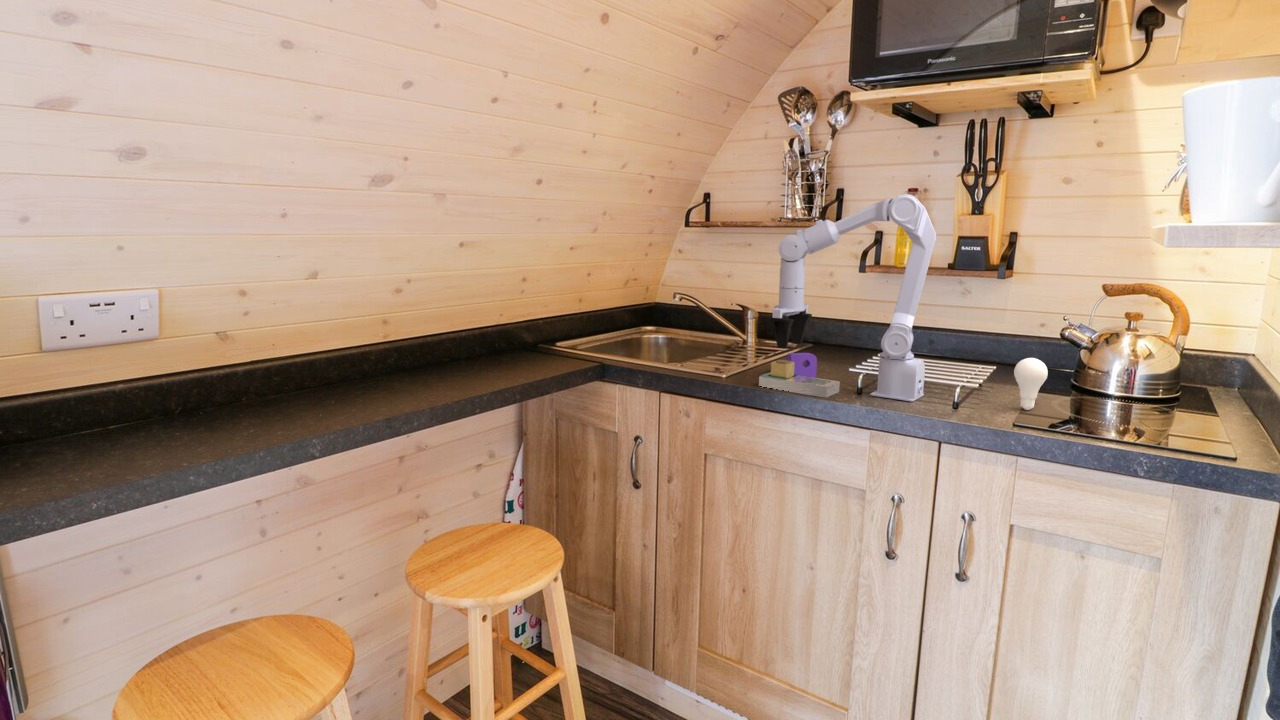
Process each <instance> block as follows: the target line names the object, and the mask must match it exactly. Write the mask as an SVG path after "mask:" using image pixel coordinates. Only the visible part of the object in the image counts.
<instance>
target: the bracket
mask: <svg viewBox="0 0 1280 720" xmlns="http://www.w3.org/2000/svg"><path fill="white" fill-rule="evenodd" d="M784 360H787V361H790V362H795V363H794V374H798V375H799V376H806V377H813V378H817V370H818V369H817V368H818V358H817V356H816V355H815V354H813V353H810V352H788V353H787V358H786V359H784ZM804 362H806V363H805V364H804Z"/></svg>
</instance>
